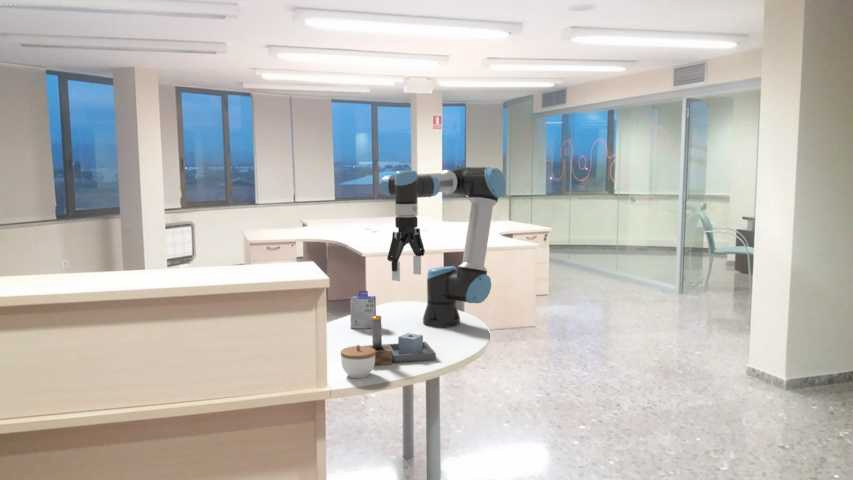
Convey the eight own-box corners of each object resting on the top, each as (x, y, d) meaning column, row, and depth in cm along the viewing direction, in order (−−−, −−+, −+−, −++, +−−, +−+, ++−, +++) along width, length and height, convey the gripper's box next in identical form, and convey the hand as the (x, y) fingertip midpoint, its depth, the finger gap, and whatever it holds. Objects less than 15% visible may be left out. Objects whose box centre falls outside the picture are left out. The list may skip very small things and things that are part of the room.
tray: (425, 348, 229) (425, 341, 229) (435, 360, 216) (435, 352, 215) (386, 351, 226) (386, 344, 226) (394, 363, 212) (394, 355, 212)
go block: (387, 357, 219) (387, 344, 218) (391, 364, 211) (391, 350, 211) (363, 358, 217) (363, 345, 217) (367, 366, 209) (367, 352, 209)
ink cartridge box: (376, 325, 262) (376, 290, 260) (375, 328, 256) (375, 292, 255) (351, 325, 262) (351, 290, 260) (350, 328, 256) (350, 292, 254)
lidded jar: (377, 369, 206) (377, 340, 205) (373, 381, 195) (373, 350, 194) (343, 369, 206) (343, 340, 205) (338, 380, 196) (338, 350, 194)
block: (408, 349, 225) (407, 332, 224) (422, 352, 222) (422, 335, 221) (398, 354, 220) (398, 336, 219) (413, 356, 217) (413, 339, 216)
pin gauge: (381, 356, 216) (380, 315, 214) (383, 359, 213) (382, 317, 211) (372, 357, 215) (370, 316, 213) (373, 360, 212) (372, 318, 210)
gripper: (395, 219, 209) (396, 284, 212) (434, 213, 230) (434, 272, 233) (376, 218, 213) (377, 282, 216) (416, 212, 234) (416, 270, 237)
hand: (406, 277), depth 224 cm, fingers open, 13 cm apart
